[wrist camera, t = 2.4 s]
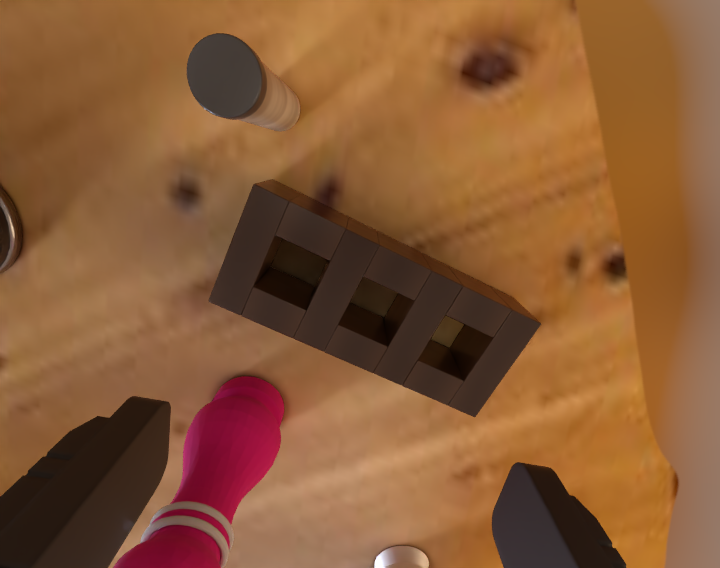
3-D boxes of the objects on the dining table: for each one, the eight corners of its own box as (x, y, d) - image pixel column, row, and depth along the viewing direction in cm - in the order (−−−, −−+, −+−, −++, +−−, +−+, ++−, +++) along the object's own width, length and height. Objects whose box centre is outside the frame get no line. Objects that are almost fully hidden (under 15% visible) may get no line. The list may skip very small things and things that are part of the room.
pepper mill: (228, 357, 33) (42, 635, 14) (303, 391, 34) (226, 692, 15) (198, 418, 35) (2, 732, 16) (270, 448, 36) (166, 776, 17)
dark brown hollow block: (231, 279, 30) (207, 301, 26) (272, 178, 28) (253, 183, 23) (459, 380, 33) (475, 417, 29) (514, 298, 31) (541, 324, 26)
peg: (249, 119, 27) (176, 95, 16) (266, 73, 26) (200, 17, 15) (291, 140, 27) (246, 131, 17) (309, 96, 26) (273, 56, 16)
